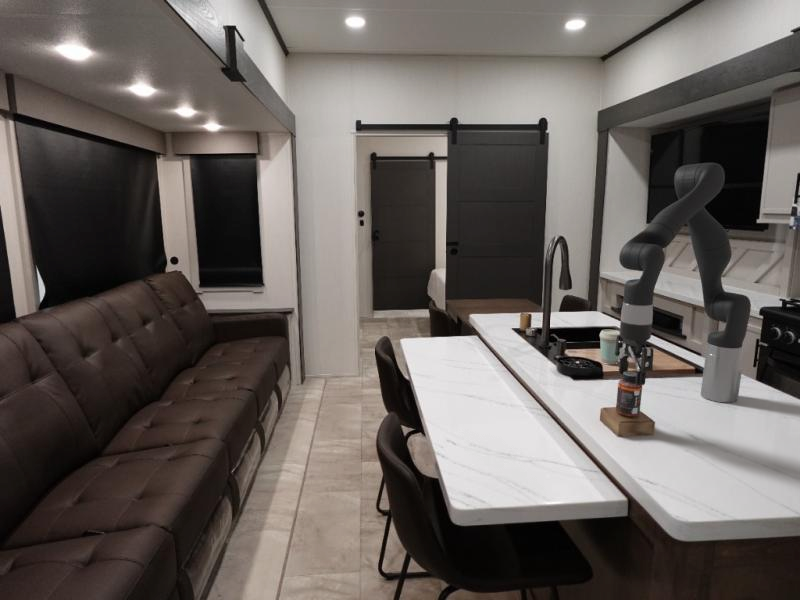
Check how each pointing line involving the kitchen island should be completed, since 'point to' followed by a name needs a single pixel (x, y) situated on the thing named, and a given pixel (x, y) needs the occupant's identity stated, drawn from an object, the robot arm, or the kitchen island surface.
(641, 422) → the plinth
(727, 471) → the kitchen island surface
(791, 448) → the kitchen island surface
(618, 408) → the supplement bottle
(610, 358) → the coffee cup
